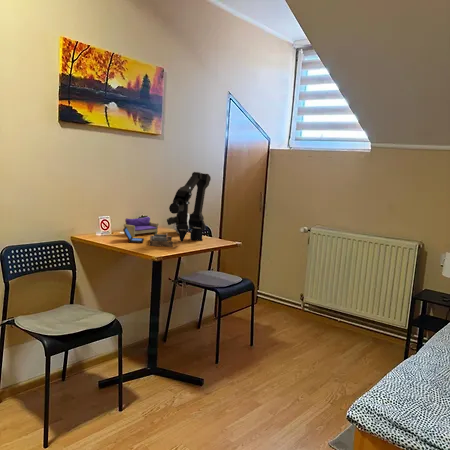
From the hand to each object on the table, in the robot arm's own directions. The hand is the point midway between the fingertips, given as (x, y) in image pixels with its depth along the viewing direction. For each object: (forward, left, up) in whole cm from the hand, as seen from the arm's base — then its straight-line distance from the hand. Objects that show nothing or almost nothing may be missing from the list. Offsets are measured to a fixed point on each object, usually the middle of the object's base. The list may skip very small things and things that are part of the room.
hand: (181, 240), depth 254 cm
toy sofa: (+23, -26, -3) cm, 35 cm away
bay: (+11, 0, -2) cm, 11 cm away
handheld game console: (+26, -3, -3) cm, 26 cm away
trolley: (+12, 0, -2) cm, 12 cm away
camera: (-1, -37, -2) cm, 37 cm away
